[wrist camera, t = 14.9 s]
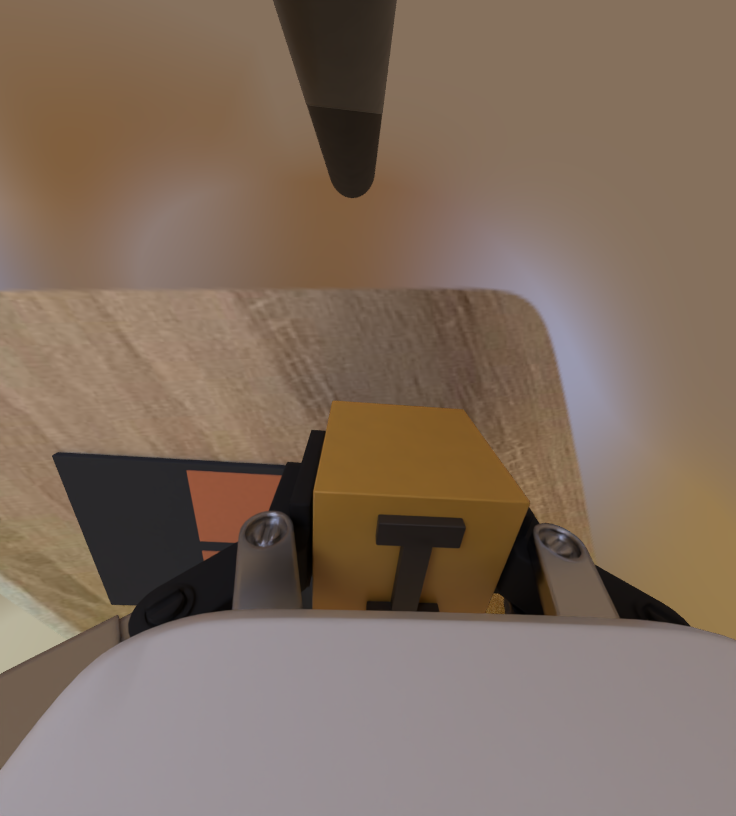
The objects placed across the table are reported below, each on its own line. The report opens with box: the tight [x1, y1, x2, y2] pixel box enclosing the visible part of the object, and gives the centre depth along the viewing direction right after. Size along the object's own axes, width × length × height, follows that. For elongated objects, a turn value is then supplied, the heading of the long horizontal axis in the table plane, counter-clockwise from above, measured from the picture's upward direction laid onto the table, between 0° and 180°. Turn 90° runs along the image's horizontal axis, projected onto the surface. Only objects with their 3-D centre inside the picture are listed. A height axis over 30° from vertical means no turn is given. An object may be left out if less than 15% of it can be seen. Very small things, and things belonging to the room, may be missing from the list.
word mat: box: [52, 452, 313, 609], centre depth 22 cm, size 14×24×1 cm, turn 85°
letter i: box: [312, 401, 530, 614], centre depth 10 cm, size 5×5×5 cm
